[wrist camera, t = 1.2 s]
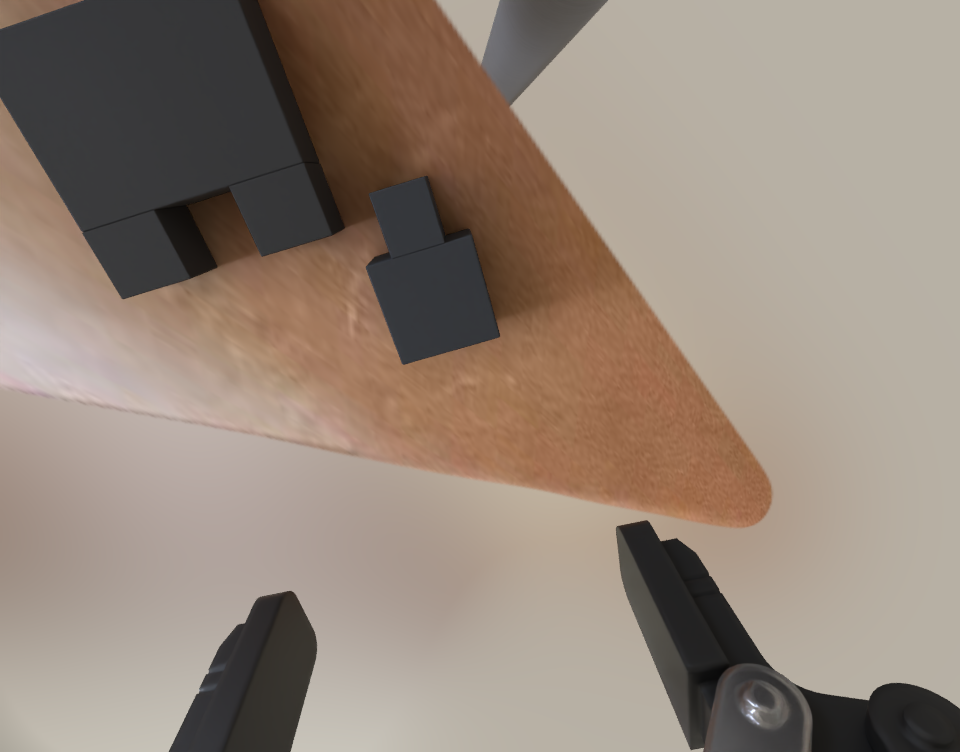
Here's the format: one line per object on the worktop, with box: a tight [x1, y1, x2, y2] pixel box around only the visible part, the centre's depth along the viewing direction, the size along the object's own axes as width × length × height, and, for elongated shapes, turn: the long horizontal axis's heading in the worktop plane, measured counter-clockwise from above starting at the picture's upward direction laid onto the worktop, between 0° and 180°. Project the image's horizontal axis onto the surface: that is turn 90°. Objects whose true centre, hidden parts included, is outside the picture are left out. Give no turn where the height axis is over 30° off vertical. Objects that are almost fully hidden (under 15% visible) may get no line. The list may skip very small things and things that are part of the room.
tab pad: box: [366, 176, 500, 365], centre depth 27 cm, size 9×6×3 cm, turn 16°
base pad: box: [0, 0, 345, 299], centre depth 24 cm, size 12×12×3 cm
